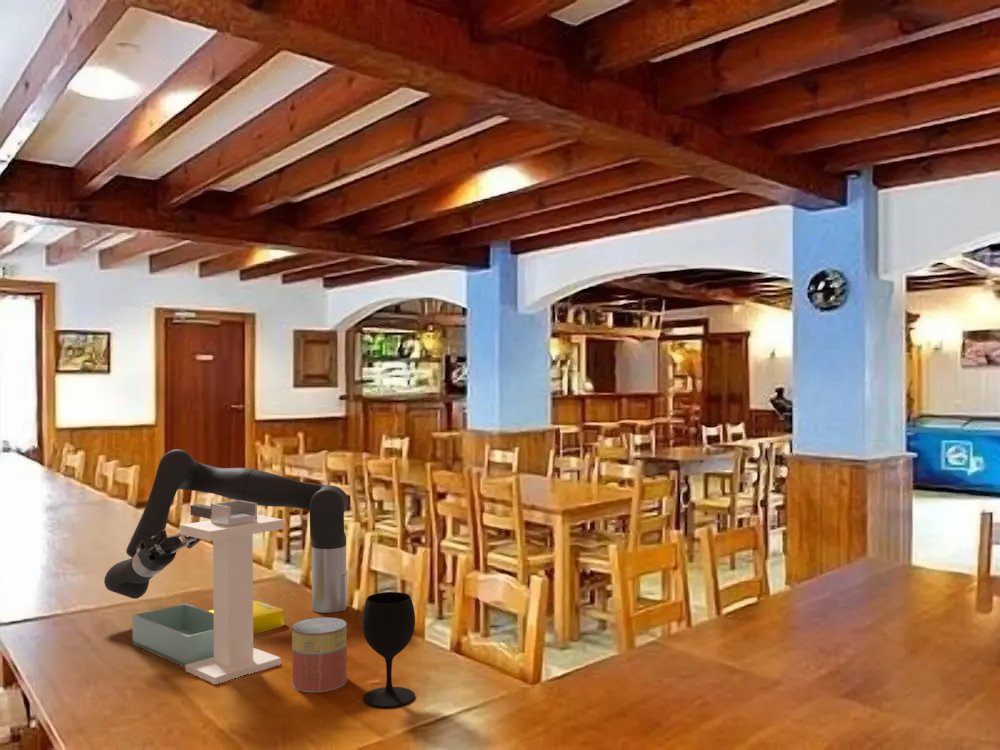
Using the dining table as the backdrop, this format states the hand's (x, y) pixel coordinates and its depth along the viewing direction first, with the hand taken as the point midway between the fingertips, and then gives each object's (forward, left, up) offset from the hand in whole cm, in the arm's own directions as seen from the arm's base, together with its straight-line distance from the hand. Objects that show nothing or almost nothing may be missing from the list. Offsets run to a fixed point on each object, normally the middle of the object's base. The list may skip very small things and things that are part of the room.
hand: (182, 530), depth 199 cm
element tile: (-11, -16, -28) cm, 34 cm away
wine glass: (-50, +35, -28) cm, 67 cm away
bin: (-1, +1, -27) cm, 28 cm away
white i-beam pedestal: (-15, +15, -27) cm, 35 cm away
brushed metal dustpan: (-11, +11, +5) cm, 16 cm away
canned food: (-35, +25, -28) cm, 52 cm away
